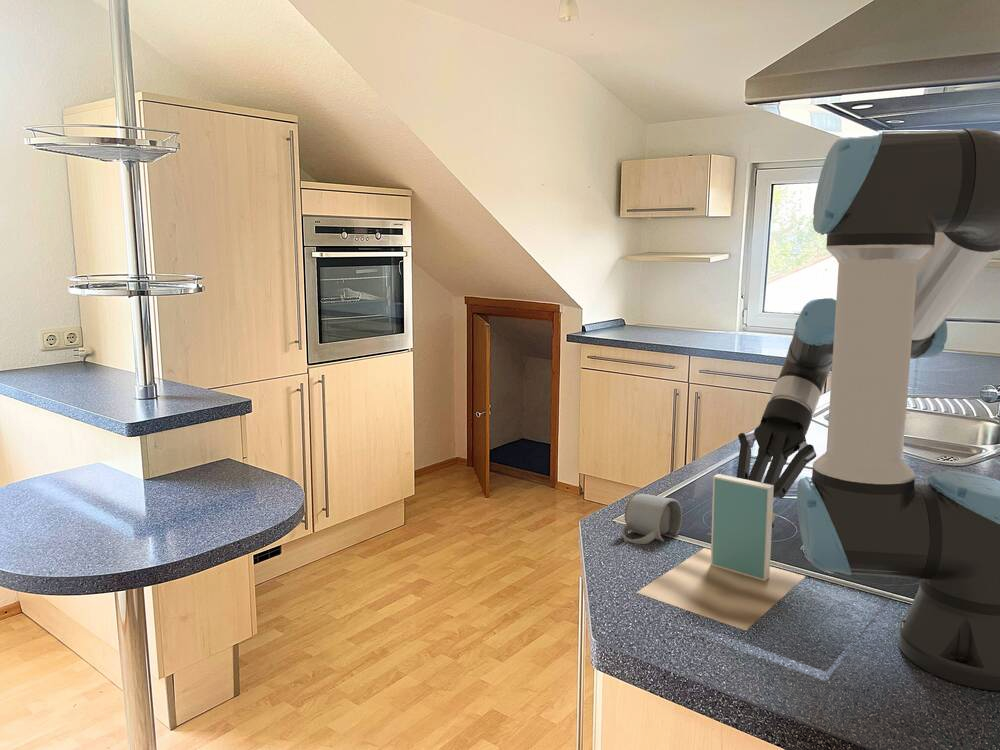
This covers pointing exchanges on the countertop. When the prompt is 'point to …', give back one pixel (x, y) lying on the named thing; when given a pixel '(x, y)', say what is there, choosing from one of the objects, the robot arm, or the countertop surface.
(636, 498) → the ceramic mug
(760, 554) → the ceramic tile
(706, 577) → the cork mat
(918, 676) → the countertop surface
